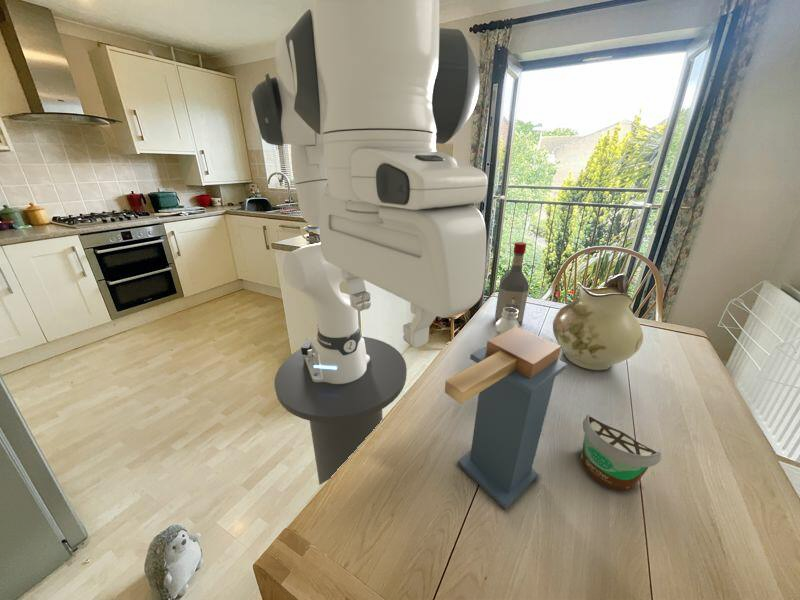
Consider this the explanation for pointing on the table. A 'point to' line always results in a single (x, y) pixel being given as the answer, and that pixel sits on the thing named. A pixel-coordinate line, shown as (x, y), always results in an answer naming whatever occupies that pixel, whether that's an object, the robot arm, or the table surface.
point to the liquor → (513, 286)
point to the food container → (614, 456)
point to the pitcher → (599, 326)
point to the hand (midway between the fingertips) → (385, 323)
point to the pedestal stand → (509, 431)
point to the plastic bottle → (506, 321)
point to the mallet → (504, 362)
